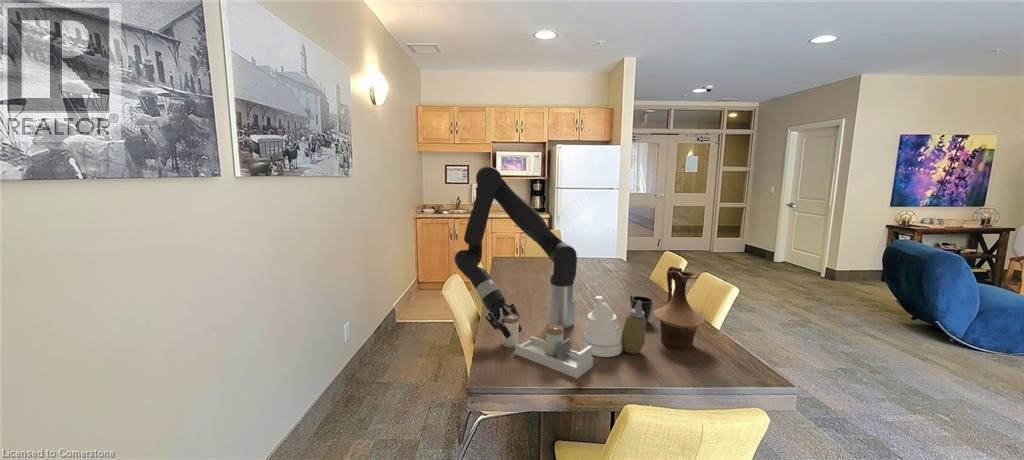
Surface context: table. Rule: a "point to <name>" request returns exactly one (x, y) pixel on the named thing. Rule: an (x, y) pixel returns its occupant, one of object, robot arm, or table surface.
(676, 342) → the pitcher
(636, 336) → the squeeze bottle
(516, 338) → the cream jar
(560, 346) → the pusher
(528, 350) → the jar lane
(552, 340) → the sage jar
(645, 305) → the mug
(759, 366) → the table surface
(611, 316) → the honey pot
